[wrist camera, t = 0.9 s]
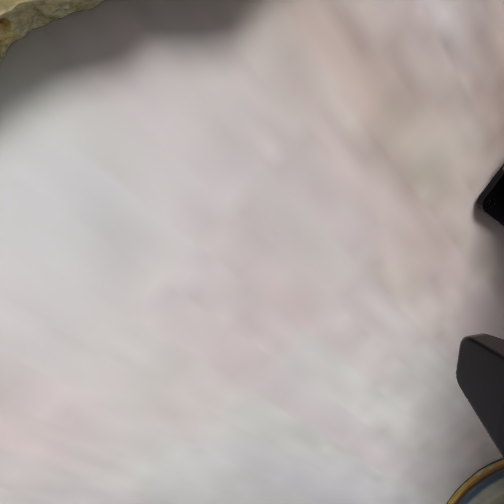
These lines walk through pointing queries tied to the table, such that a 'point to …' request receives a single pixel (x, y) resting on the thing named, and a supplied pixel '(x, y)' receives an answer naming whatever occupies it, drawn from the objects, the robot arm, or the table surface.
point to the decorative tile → (33, 16)
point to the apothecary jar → (482, 487)
